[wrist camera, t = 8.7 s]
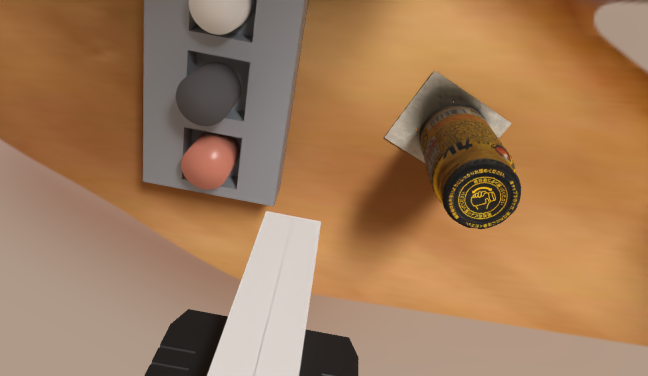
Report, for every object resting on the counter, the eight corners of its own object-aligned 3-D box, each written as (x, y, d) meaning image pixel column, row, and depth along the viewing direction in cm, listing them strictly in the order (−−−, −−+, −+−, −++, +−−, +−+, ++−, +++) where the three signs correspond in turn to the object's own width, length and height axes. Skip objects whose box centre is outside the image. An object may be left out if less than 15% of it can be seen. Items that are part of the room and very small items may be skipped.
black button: (194, 57, 38) (176, 68, 34) (243, 67, 38) (231, 79, 35) (191, 105, 40) (174, 120, 36) (238, 114, 40) (226, 130, 36)
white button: (206, -33, 37) (189, -30, 33) (257, -22, 37) (246, -19, 33) (203, 21, 39) (187, 28, 35) (252, 31, 39) (241, 39, 35)
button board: (162, -64, 37) (144, -65, 34) (313, -34, 38) (309, -32, 34) (158, 165, 46) (142, 181, 43) (279, 188, 47) (273, 206, 43)
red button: (197, 125, 43) (182, 141, 39) (241, 134, 43) (230, 150, 39) (194, 165, 45) (180, 184, 41) (237, 173, 45) (226, 193, 41)
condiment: (457, 183, 45) (487, 256, 35) (384, 136, 44) (391, 197, 33) (511, 122, 42) (562, 181, 32) (434, 69, 41) (460, 112, 30)
